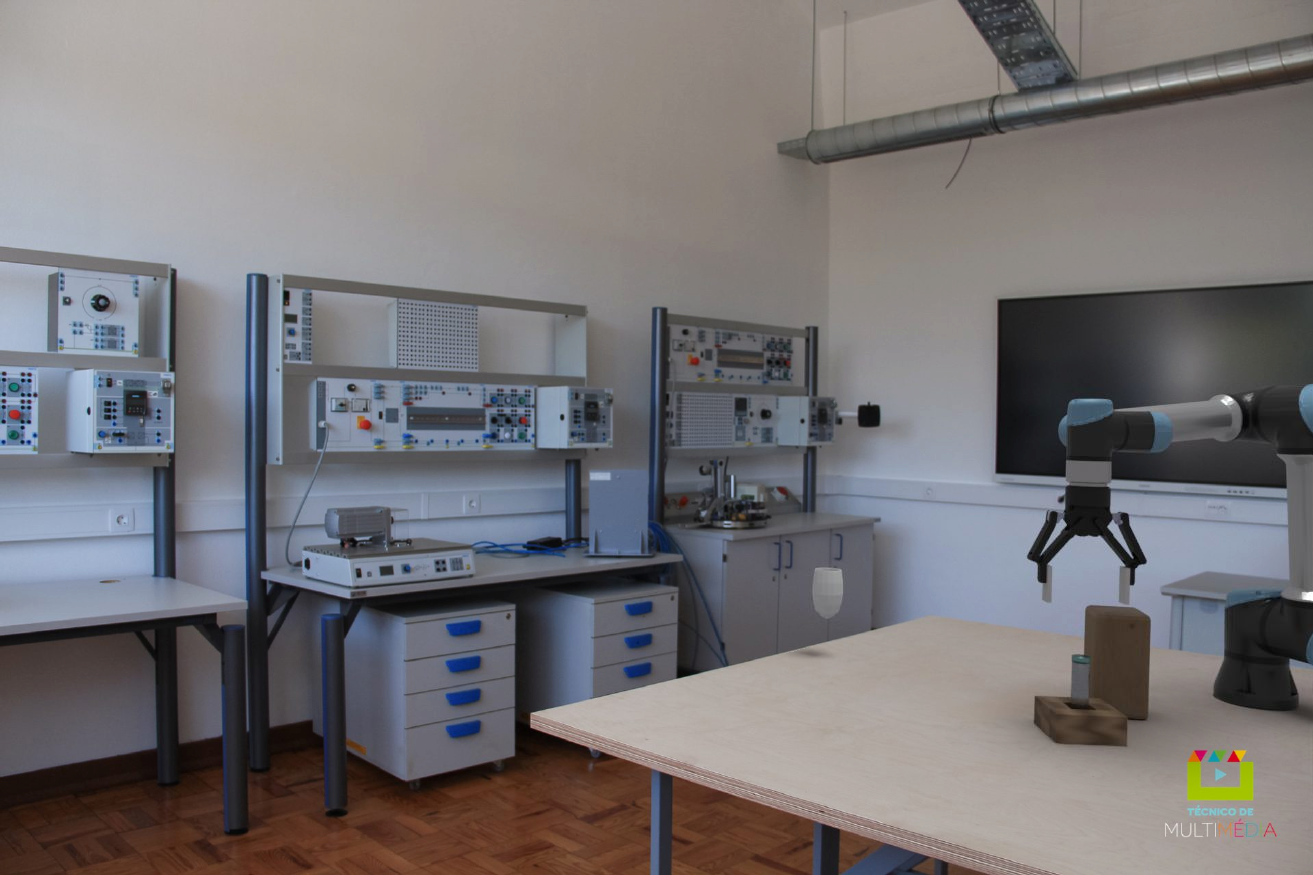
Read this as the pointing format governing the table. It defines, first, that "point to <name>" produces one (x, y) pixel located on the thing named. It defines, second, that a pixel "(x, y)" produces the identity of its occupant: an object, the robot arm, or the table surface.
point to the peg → (1080, 682)
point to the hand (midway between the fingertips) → (1085, 602)
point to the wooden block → (1119, 657)
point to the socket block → (1080, 721)
